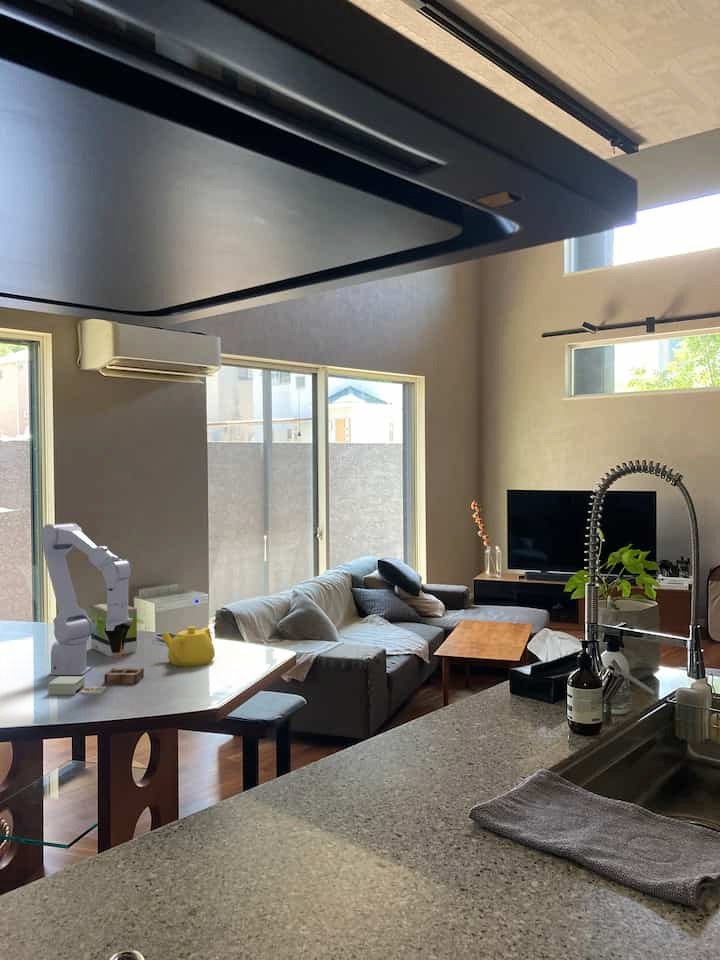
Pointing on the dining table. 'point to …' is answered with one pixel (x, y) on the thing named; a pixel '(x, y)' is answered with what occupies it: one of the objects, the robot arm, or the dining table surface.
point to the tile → (93, 690)
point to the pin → (118, 654)
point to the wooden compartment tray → (124, 676)
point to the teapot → (190, 647)
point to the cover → (66, 685)
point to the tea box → (99, 635)
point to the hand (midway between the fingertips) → (117, 651)
